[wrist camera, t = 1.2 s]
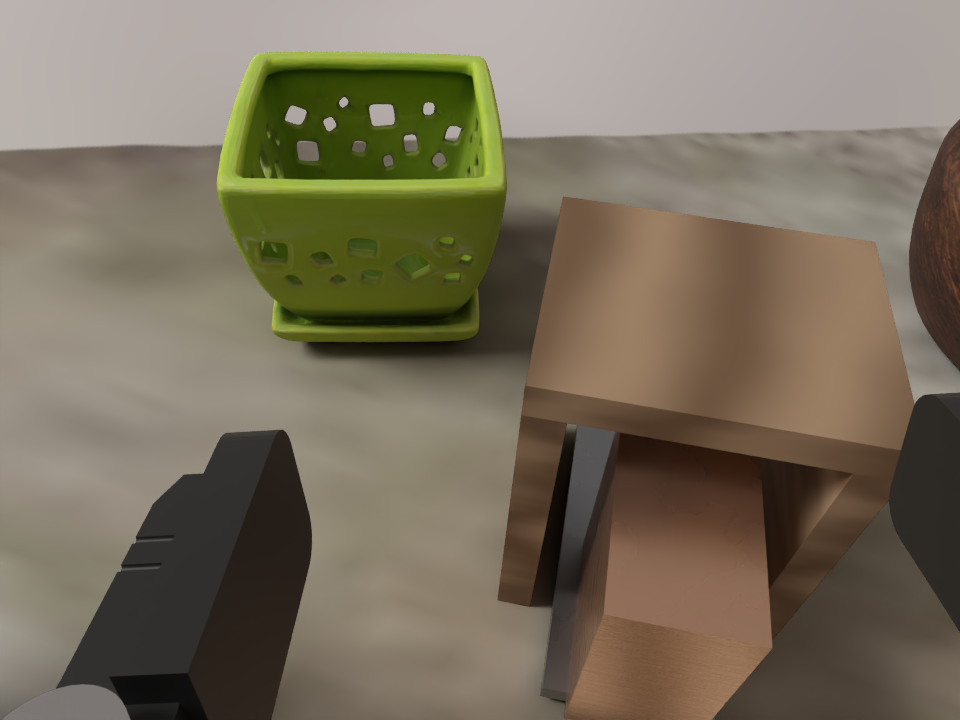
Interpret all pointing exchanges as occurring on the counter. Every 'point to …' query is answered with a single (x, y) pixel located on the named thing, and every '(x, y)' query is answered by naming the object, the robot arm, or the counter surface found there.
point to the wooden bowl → (939, 249)
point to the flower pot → (366, 194)
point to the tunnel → (718, 374)
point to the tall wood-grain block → (657, 580)
